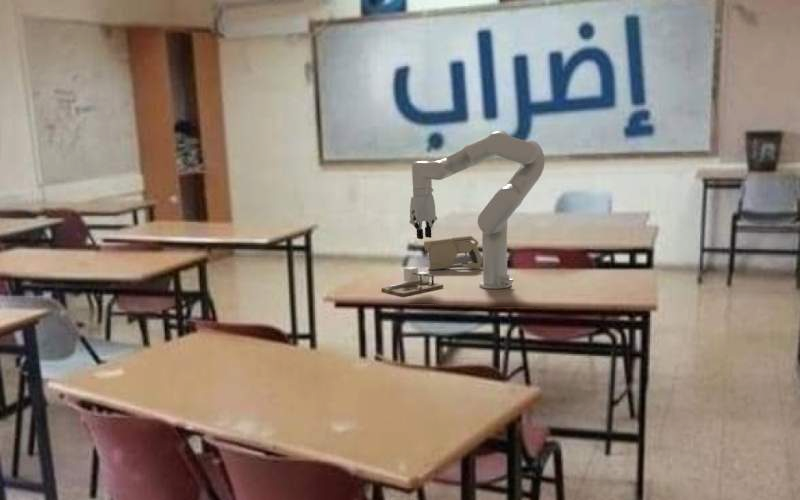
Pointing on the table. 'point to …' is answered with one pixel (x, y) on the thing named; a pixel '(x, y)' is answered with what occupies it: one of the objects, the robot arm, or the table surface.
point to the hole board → (413, 289)
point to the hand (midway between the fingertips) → (424, 237)
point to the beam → (424, 280)
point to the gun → (452, 252)
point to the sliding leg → (412, 275)
